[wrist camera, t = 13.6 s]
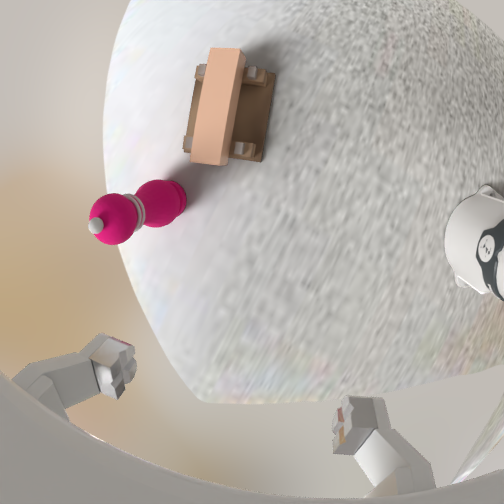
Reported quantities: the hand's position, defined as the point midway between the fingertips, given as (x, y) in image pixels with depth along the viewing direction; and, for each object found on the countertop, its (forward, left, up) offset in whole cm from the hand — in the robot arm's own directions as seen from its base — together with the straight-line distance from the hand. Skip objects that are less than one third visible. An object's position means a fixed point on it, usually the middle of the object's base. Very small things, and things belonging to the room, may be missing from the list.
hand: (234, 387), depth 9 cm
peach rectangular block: (+11, -14, -31) cm, 36 cm away
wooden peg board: (+11, -14, -35) cm, 39 cm away
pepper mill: (+19, +1, -35) cm, 40 cm away
